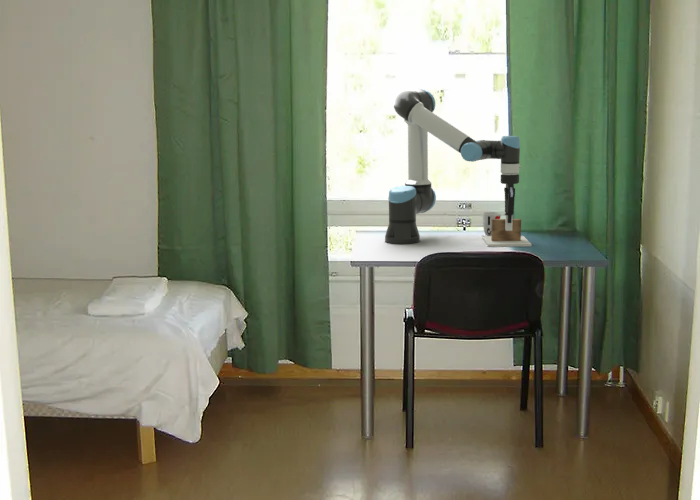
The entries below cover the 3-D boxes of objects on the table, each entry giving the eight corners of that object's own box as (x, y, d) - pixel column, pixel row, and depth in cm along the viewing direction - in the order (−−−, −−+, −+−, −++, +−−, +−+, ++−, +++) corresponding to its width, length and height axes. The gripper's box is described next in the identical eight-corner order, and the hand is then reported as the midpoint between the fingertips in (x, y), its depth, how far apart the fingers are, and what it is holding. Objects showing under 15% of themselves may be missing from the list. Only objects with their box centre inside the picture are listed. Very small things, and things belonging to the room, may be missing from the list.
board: (492, 241, 362) (492, 220, 361) (491, 239, 365) (491, 219, 364) (520, 240, 362) (521, 219, 360) (519, 239, 365) (520, 218, 363)
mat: (487, 246, 355) (487, 244, 355) (482, 238, 375) (482, 236, 375) (531, 246, 355) (531, 243, 354) (523, 238, 374) (523, 235, 374)
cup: (484, 237, 378) (485, 214, 376) (479, 234, 386) (480, 212, 384) (502, 236, 379) (503, 214, 377) (497, 233, 387) (497, 211, 385)
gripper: (521, 175, 346) (520, 232, 350) (516, 172, 358) (515, 227, 363) (503, 175, 346) (501, 233, 350) (498, 172, 359) (497, 227, 363)
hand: (508, 230), depth 356 cm, fingers closed
